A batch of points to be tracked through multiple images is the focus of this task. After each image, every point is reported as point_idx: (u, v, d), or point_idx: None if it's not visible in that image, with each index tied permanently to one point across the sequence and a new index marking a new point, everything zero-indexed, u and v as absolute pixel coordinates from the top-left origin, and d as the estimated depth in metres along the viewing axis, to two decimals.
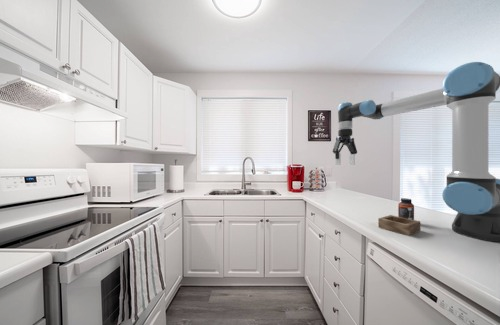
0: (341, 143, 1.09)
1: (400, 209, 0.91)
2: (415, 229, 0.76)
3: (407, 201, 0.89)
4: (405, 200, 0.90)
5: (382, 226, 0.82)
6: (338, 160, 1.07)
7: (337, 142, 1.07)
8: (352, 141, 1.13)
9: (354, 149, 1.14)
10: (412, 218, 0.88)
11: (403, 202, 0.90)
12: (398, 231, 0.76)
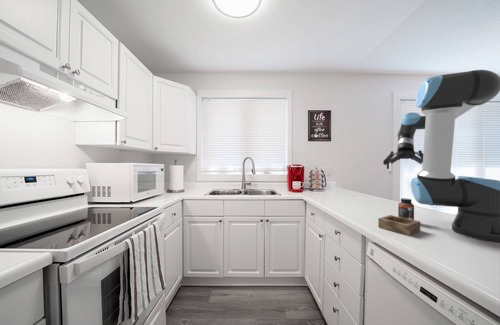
0: None
1: (400, 209, 0.91)
2: (415, 229, 0.76)
3: (407, 201, 0.89)
4: (405, 200, 0.90)
5: (382, 226, 0.82)
6: (389, 168, 1.05)
7: None
8: (419, 153, 1.02)
9: None
10: (412, 218, 0.88)
11: (403, 202, 0.90)
12: (398, 231, 0.76)
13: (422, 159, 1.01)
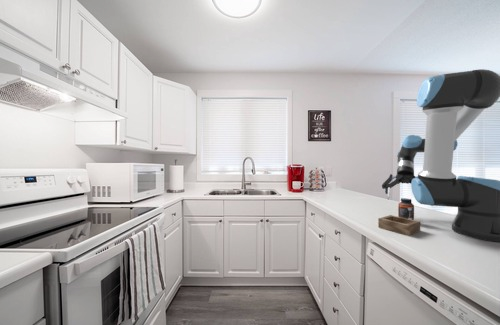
0: None
1: (400, 209, 0.91)
2: (415, 229, 0.76)
3: (407, 201, 0.89)
4: (405, 200, 0.90)
5: (382, 226, 0.82)
6: None
7: None
8: None
9: None
10: (412, 218, 0.88)
11: (403, 202, 0.90)
12: (398, 231, 0.76)
13: None
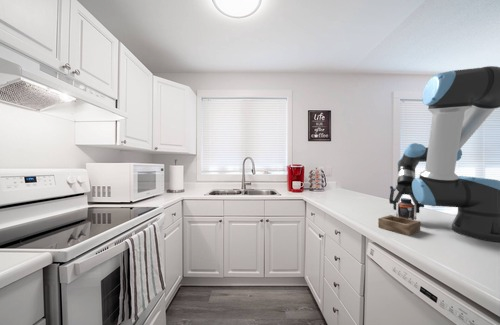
0: (398, 193, 0.97)
1: (400, 209, 0.91)
2: (415, 229, 0.76)
3: (407, 201, 0.89)
4: (404, 200, 0.90)
5: (382, 226, 0.82)
6: (396, 210, 0.92)
7: None
8: None
9: None
10: (412, 218, 0.88)
11: (403, 202, 0.90)
12: (398, 231, 0.76)
13: None
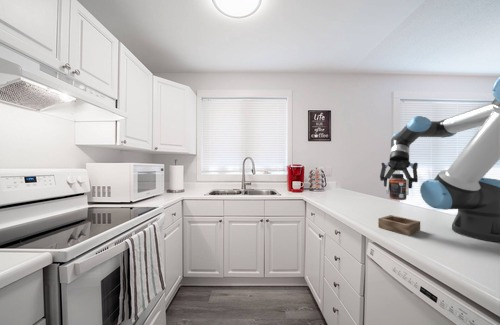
0: None
1: (391, 185, 0.82)
2: (415, 229, 0.76)
3: (398, 176, 0.81)
4: (396, 175, 0.81)
5: (382, 226, 0.82)
6: (386, 186, 0.83)
7: None
8: (412, 166, 0.84)
9: (413, 174, 0.81)
10: (404, 194, 0.79)
11: (394, 177, 0.82)
12: (398, 231, 0.76)
13: None
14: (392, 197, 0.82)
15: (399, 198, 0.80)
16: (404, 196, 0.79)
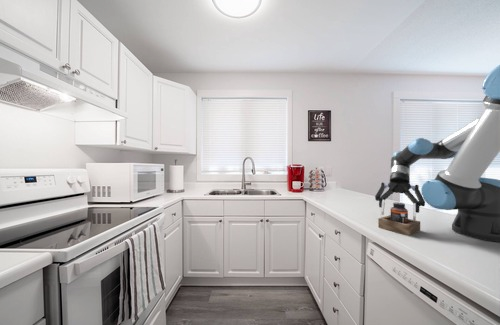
0: (389, 190, 0.88)
1: (392, 215, 0.81)
2: (415, 229, 0.76)
3: (400, 206, 0.79)
4: (397, 205, 0.80)
5: (382, 226, 0.82)
6: (381, 207, 0.84)
7: None
8: (414, 188, 0.83)
9: (419, 198, 0.79)
10: None
11: (395, 207, 0.80)
12: (398, 231, 0.76)
13: (417, 196, 0.81)
14: None
15: None
16: None
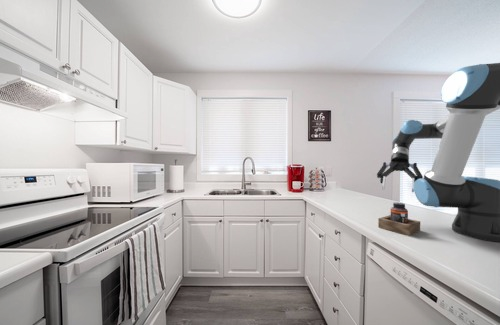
0: None
1: (392, 215, 0.81)
2: (415, 229, 0.76)
3: (400, 206, 0.79)
4: (397, 205, 0.80)
5: (382, 226, 0.82)
6: None
7: None
8: (413, 166, 0.92)
9: (417, 174, 0.89)
10: None
11: (395, 207, 0.80)
12: (398, 231, 0.76)
13: (415, 173, 0.91)
14: None
15: None
16: None
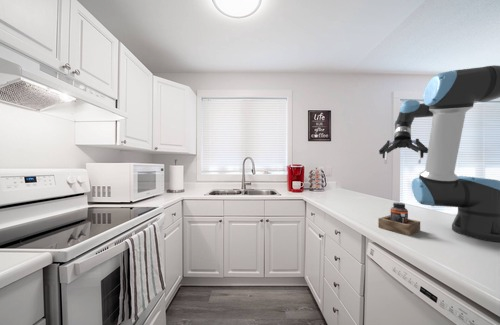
0: None
1: (392, 215, 0.81)
2: (415, 229, 0.76)
3: (400, 206, 0.79)
4: (397, 205, 0.80)
5: (382, 226, 0.82)
6: (384, 157, 1.01)
7: None
8: (416, 141, 0.99)
9: (422, 147, 0.95)
10: None
11: (395, 207, 0.80)
12: (398, 231, 0.76)
13: (419, 147, 0.98)
14: None
15: None
16: None
